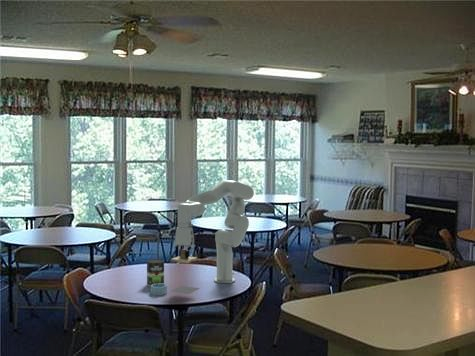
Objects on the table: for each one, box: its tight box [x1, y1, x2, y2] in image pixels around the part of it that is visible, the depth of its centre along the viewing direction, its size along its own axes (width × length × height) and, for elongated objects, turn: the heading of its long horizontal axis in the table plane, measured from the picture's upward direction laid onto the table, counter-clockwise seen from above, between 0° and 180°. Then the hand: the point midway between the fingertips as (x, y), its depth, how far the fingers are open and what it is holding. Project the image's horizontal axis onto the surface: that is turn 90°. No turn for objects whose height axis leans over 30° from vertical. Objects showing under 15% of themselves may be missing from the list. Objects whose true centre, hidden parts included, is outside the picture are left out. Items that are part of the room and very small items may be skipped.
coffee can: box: [146, 258, 165, 287], centre depth 334 cm, size 10×10×14 cm
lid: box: [170, 248, 198, 264], centre depth 320 cm, size 11×11×6 cm
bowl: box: [150, 283, 168, 296], centre depth 315 cm, size 9×9×4 cm
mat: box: [171, 285, 200, 295], centre depth 322 cm, size 12×12×1 cm
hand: (184, 257), depth 320 cm, fingers closed on lid, 3 cm apart
